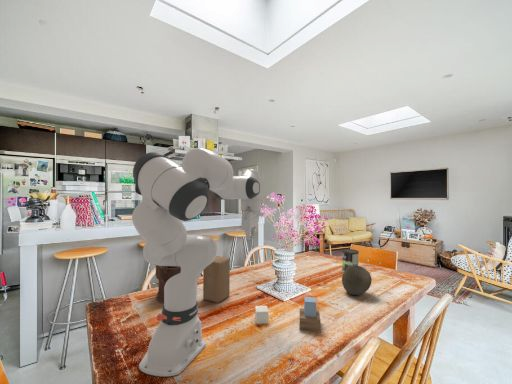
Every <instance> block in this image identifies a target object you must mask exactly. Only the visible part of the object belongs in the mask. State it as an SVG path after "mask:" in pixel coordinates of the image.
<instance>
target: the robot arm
mask: <svg viewBox="0 0 512 384" xmlns="http://www.w3.org/2000/svg"><path fill="white" fill-rule="evenodd" d="M132 178H133V181H134V184H135V185H134V190H135V193H136V194H138V195H140V196H141V197H142V199H141V202H140V203H138V204H137V205H136V206H135V207H134V209H133V211H132V215H131V220H132V224H133V227H134V228H135V230H136V231H137V233H138V235H139V236H140V237H141V239H143V241H145V242H144V245H143V247H142V255H143V258H144V261H146V263H148V264H151V265H155V266H156V265H158V266H179V267H181V272H180V273H179V274H177V275H175V276H173V277H171V278H170V279H169V280H168V281H167V282H166V284H165V287H164V304H163V307H162V310H161V313H158V314H157V315H156V321H159V323H158V326H157V327H156V330H155V331H154V333H153V336H152V337H151V339H150V341H149V344H148V347H147V352H146V353H145V354H144V356H143V357H142V359H141V361H140V362H139V364H138V369H139V370H140V371H141V372H143V374H146V375H150V376H155V377H173V376H177V375H180V374H181V373H182V372H183V371H184V370H185V369H186V368H187V367H188V365H189V364H190V363H191V362H192V361H193V360H194V359H195V358H196V357H197V356H198V355H199V354H200V353H201V352H202V351H203V350H204V348H206V345H207V343H206V341H205V340H204V339H203V333H202V332H203V331H202V321H201V319H200V318H199V316H198V312H199V304H198V299H197V295H198V294H197V293H198V292H197V291H198V283H199V278H200V277H201V275H202V273H203V270H204V269H205V268H206V267H207V266H209V265H210V264H211V263H212V262H213V261H214V259H215V258H216V256H218V255H217V254H218V246H217V244H216V240H215V239H214V238H213V237H212V236H207V235H203V234H202V235H201V234H188V232H187V228H186V227H185V224H184V223H183V222H189V221H191V220H194V219H196V218H198V217H199V216H200V215H201V214H202V213H203V212H204V211H205V209H206V207H207V206H208V203H209V199H210V193H212V194H213V195H214V196H215V197H216V198H217V199H218V200H225V201H226V200H240V211H242V213H241V225H240V227H241V230H242V231H244V234H245V240H247V241H250V240H251V236H255V235H256V227H257V225H259V221H260V212H261V210H262V209H261V208H262V204H261V203H262V199H261V198H262V197H261V189H262V184H261V183H262V181H261V174H260V171H259V170H258V169H253V168H245V169H243V170H242V173H241V175H234V168H233V166H232V164H231V163H230V162H229V161H228V160H227V159H226V158H225V157H223V156H221V155H220V154H219V153H217V152H215V151H212V150H209V149H207V148H203V147H195V148H192V149H190V150H188V151H187V152H186V153H185V155H184V156H183V157H182V160H181V163H180V164H178V163H176V162H175V161H173V160H171V159H170V158H169V157H168V156H166V155H164V154H162V153H160V152H155V151H154V152H153V151H151V152H146V153H144V154H142V155H141V156H140V157H139V158H137V160H136V161H135V163H134V165H133V168H132Z"/></svg>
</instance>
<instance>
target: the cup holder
mask: <svg viewBox="0 0 512 384" xmlns="http://www.w3.org/2000/svg"><path fill="white" fill-rule="evenodd" d="M180 272H181V267H179V266H158V265H155V278H156V279H157V280H158V291H157V295H156V296H155V301H156V302H157V303H159V304H161V305H164V287H165V284H166V282H167V281H168V280H169V279H170V278H171V277H173V276H175V275H177V274H179V273H180Z"/></svg>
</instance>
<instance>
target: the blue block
mask: <svg viewBox="0 0 512 384" xmlns="http://www.w3.org/2000/svg"><path fill="white" fill-rule="evenodd" d="M303 300H304V301H303V304H304V305H303V306H304V307H303V309H304V314H305V317H316V310H317V299H316V297H315V296H314V297H311V296H304V298H303Z"/></svg>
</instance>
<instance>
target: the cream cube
mask: <svg viewBox="0 0 512 384" xmlns="http://www.w3.org/2000/svg"><path fill="white" fill-rule="evenodd" d="M254 311H255V324H256V325H257V324H258V325H260V324H263V325H264V324H269V309H268V305H255V310H254Z"/></svg>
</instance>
